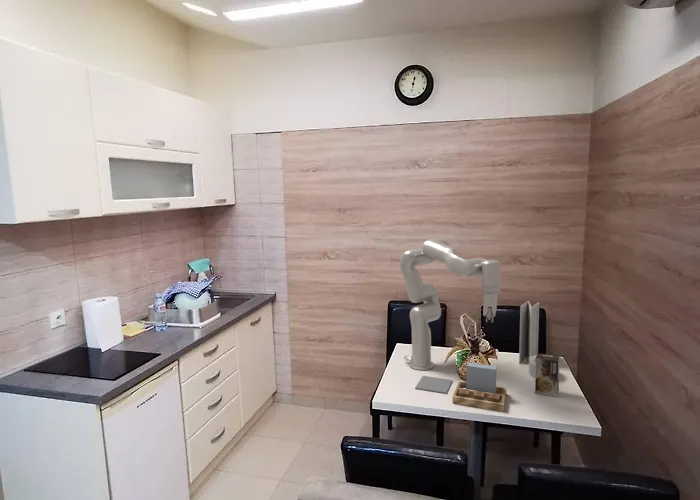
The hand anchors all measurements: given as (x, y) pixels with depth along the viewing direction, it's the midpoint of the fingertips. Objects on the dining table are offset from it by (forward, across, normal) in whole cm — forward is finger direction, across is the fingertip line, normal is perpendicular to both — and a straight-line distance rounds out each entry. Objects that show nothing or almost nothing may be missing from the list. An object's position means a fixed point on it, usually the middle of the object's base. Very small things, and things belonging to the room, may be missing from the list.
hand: (490, 327), depth 183 cm
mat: (+29, +2, -24) cm, 38 cm away
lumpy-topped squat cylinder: (+29, -25, +22) cm, 44 cm away
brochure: (+29, -43, +17) cm, 54 cm away
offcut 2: (+29, +12, -3) cm, 32 cm away
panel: (+29, +5, -3) cm, 29 cm away
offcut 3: (+29, +13, +3) cm, 32 cm away
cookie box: (+29, -7, +23) cm, 38 cm away
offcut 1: (+29, +12, -9) cm, 33 cm away
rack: (+29, +9, -3) cm, 30 cm away
